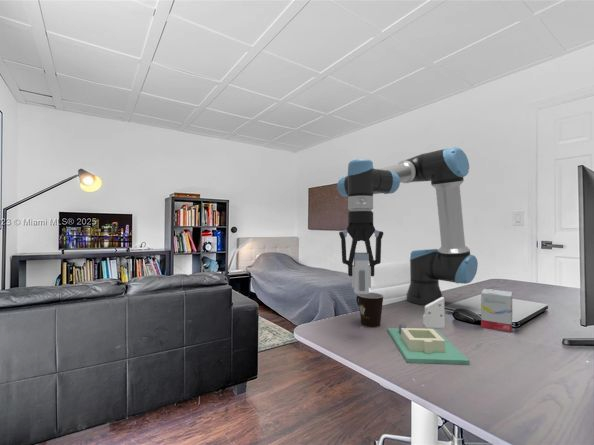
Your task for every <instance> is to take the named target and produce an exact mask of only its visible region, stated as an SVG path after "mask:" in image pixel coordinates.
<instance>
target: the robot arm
mask: <svg viewBox="0 0 594 445" xmlns="http://www.w3.org/2000/svg"><path fill="white" fill-rule="evenodd" d="M469 170H470V163H469V158H468V156H467V154H466V153H465V151H463V149H461V148H459V147H450V148H448V147H447V148H444V149H439V150H435V151H430V152H426V153H425V152H424V153H421V154H418V155H415V156H412V157H410V158H408V159H405V160H401V161H399V162H398V163H397V164H393V165H390V166H385V167H381V168H374V164H373V161H372V160H371V159H370V158H369V159H367V158H358V159H353V160H351V161H349V162H348V166H347V175H346V176H344V177H341V178H340V179H339V180H338V182H337V186H336V187H337V192H338V194H339V195H340V196H342V197H343V198H347V209H348V213H347V221H348V222H347V223H348V224H347V228H346V229H344V230H342V231H339V232H338V235H339V237H340V241H341V242H340V243H341V244H340V246H341V247H340V248H341V262H342V264H344V265H347V275H348V276H349V277H351V288H353V289H354V288H355V266H354V255H355V253H356V250H357V245H358V242H361V241H362V242H364V245H365V249H366V253H368V254H369V289H371V288H372V277H375V266H376V265H380V264H381V260H382V259H381V258H382V256H381V255H382V238H383V236H384V231H382V230H377V229H376V227H375V225H374V212H373V211H372V210H373V209H374V195H378V194H384V195H388V194H394V193H395V192H396V191H398V189H399V187H400V184H401V183H403V184H409V183H417V182H418V183H419V182H430V185H431V186H432V187H433V188H435V193H436V194H435V195H436V205H437V215H438V223H439V235H440V247H439V248H433V249H431V248H429V249H418V250H412V251H411V252H410V257H409V258H410V259H409V265H410V268H409V270H410V275H409V277H410V284H409V286H408V290H407V293H406V300H407V302H409V303H411V304H416V305H422V306H426V305H428V304H429V303H431V302H434V301H435V300H437V299H439V298H441V297H444V296H443V294H442V290H441V287H440V284H439V281H443V282H449V283H454V284H464V285H466V284H469V283H472V281H473V280H474V278H475V277H476V275H477V271H478V266H479V265H478V264H479V263H478V259H477V257H476V256H475V255H473V254H471V249H470V248H469V247H468V246H466V242H465V241H466V240H465V230H464V220H463V219H464V218H463V208H462V207H463V206H462V197H461V195H462V194H461V184H462V183H464V182H465V181H464V177H466V176H467V175H468V174H469V172H470V171H469ZM347 234H349V236H350V237H351V239H352V240H351V246H350V251H349V256H348V259H347V244H346V243H347V241H346V237H348V236H347ZM373 234H374V237H375V250H374V251H375V253H374V254H375V255H374V256H375V257H374V256H373V251H372V250H373V249H372V246H371V240H370V239H371V237H372V236H373Z"/></svg>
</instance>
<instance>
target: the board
mask: <svg viewBox="0 0 594 445" xmlns="http://www.w3.org/2000/svg"><path fill="white" fill-rule="evenodd" d="M387 332H388V333H389V335H390V337H391V338H392V340H393V342H394V343H395V345H396V347H397V348H398V350H399V352H400V354H401V355H402V357H403V358H404V360H405V361H406V363H409V364H410V363H413V364H416V363H417V364H438V365H439V364H440V365H441V364H442V365H470V359H469V358H467V357H466V356H465V354H464V353H462V352H461V351H460V350H459V349H458V348H457V347H456V346H454V345H453V344H452V342H451V341H449V340H448V339H447V338H446V337H445V336H444V335H443V334H441V332H440V331H439V330H437V328H427V327H425V328H424V327H423V328H420V327H416V328H415V327H407V325H406V324H403V323H402V324H398V327H388V328H387Z"/></svg>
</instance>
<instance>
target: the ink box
mask: <svg viewBox="0 0 594 445" xmlns="http://www.w3.org/2000/svg"><path fill="white" fill-rule="evenodd" d="M480 295H481V297H480V298H481V299H480V302H481V303H480V306H481V307H480V313H481V314H480V315H481V316H480V326H481V328H484V329H490V330H495V331H502V332H508V333H512V331H513V291H508V290H498V289H492V288H483V289H482V291H481V292H480Z"/></svg>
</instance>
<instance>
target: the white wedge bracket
mask: <svg viewBox="0 0 594 445" xmlns="http://www.w3.org/2000/svg"><path fill="white" fill-rule="evenodd" d="M445 316H446V315H445V297H444V296H443V297H441V298H439V299H437V300H435V301H434V302H431V303H429V304H428V305H424V314H422V321H423V322H422V324H423V325H424V327H425V328H428V329H445V324H446V322H445V319H446V318H445Z"/></svg>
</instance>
